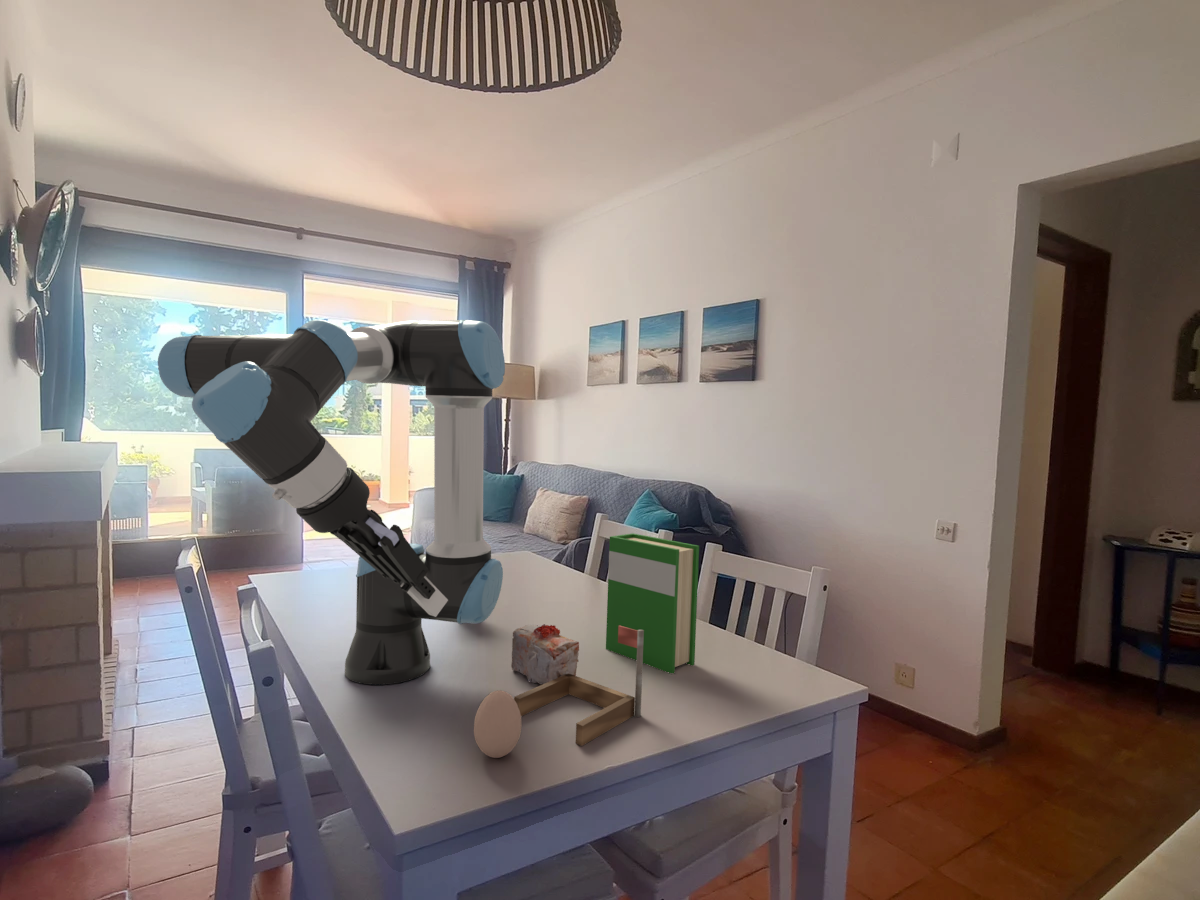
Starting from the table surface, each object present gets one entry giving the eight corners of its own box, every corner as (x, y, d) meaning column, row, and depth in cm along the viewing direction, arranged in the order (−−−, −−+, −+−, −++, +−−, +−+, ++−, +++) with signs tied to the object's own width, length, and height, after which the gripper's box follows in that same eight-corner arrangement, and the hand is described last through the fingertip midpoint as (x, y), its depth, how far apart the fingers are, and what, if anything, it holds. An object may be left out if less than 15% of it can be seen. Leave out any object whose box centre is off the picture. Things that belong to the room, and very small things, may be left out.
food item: (584, 684, 113) (586, 630, 112) (551, 696, 107) (553, 640, 107) (536, 662, 122) (538, 613, 122) (503, 672, 116) (505, 621, 116)
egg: (505, 772, 82) (507, 705, 82) (463, 761, 85) (465, 696, 85) (528, 749, 89) (531, 687, 88) (489, 739, 91) (491, 678, 91)
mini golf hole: (513, 715, 99) (516, 628, 99) (571, 688, 110) (573, 610, 110) (586, 748, 90) (589, 653, 89) (641, 715, 101) (645, 630, 100)
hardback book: (694, 664, 124) (699, 545, 123) (671, 674, 118) (676, 549, 118) (629, 641, 136) (633, 533, 135) (605, 649, 131) (609, 536, 130)
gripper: (270, 506, 72) (392, 620, 85) (327, 518, 64) (452, 642, 77) (317, 461, 76) (426, 576, 89) (375, 466, 68) (486, 593, 81)
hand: (438, 607), depth 83 cm, fingers closed
